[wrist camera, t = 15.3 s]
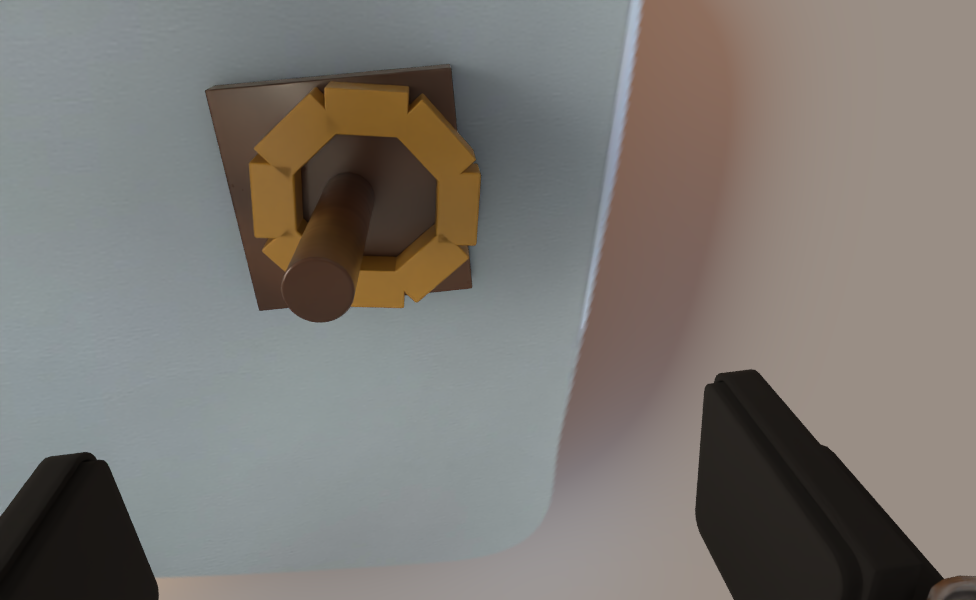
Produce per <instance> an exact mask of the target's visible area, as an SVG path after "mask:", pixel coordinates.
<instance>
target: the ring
mask: <svg viewBox="0 0 976 600" xmlns="http://www.w3.org/2000/svg"><path fill="white" fill-rule="evenodd" d="M336 134H340V135H359V136H378V137H397V138H398V139H399V140H400V141H401V142H402V143H403V144H404V145H405V146H406V147H407V149H408V150H409V151H410V152H411V153H412V154H413V155H414V156H415V157H416V158H417V159H418V160H419V161H420V162H421V163H422V165H423V166H424V167H425V168H426V169H427V170H428V171H429V172H430V173H431V174H432V175H433V176H434V177H435V178H436V179H437V185H436V210H435V224H434V225H432V226H431V227H430V228H429V229H428V230H427V231H426V232H425V233H423V234H422V235H421V236H420V237H419V238H418V239H417V240H415V241H414V242H413V243H412V244H411V245H410V246H409V247H407V248H406V249H405V250H404V251H403V252H402V253H401V254H399V255H398V256H397V257H385V256H363V258H362V263H361V268H360V272H359V277H358V282H357V287H356V291H355V296H354V300H353V303H352V305H351V307H384V308H404V297H405V293H406V294H407V295H408V296H409V297H410V298H411V299H412V300H413V301H415V302H416V303H417V302H419V301H420V300H421V299H422V298H423V297H424V296H426V295H427V294H428V293H429V292H430V291H432V290H433V289H434V288H435V287H436V286H437V285H439V284H440V283H441V282H442V281H443V280H444V279H446V278H447V277H448V276H449V275H450V274H452V273H453V272H454V271H455V270H456V269H457V268H459V267H460V266H461V265H462V264H463V263H464V262H466V261H467V260H468V259H469V252H468V246H475V245H476V243H477V228H478V213H479V199H480V184H481V173H480V170H479V167H478V164H476V163H473V162H474V161H476V158H475V154H474V151H473V149H472V148H471V147H470V145H469V144H468V143H467V142H466V141H465V140H464V139H463V138H462V136H461V135H460V134H459V133H458V132H457V131H456V130H455V129H454V128H453V126H452V125H451V124H450V123H449V122H448V121H447V120H446V119H445V117H444V116H443V115H442V114H441V113H440V112H439V111H438V110H437V108H436V107H435V106H434V105H433V104H432V103H431V102H430V101H429V99H428V98H427V97H426V96H425V95H424V94H423V93H422V94H421V95H420V96H418V97H417V98H416V99H415V100H414V101H413V102H412V103H411V104H410V105H409V86H398V85H381V84H365V83H348V82H332V81H331V82H329V83H328V85H327V86H326V87H325V88H324V94H323V93H322V92H321V91H320V90H319V89H318V88H317V87H315V88H314V89H313V90H312V91H311V92H310V93H309V94H308V95H307V96H306V97H305V98H304V99H303V100H301V101H300V102H299V103H298V104H297V105H296V106H295V107H294V108H293V109H292V110H291V111H290V112H289V113H288V114H287V115H286V116H285V117H284V118H283V119H282V120H281V121H280V122H279V123H278V124H277V125H276V126H275V127H274V128H273V129H272V130H271V131H270V132H269V133H268V134H267V135H266V136H265V137H264V138H263V139H262V140H261V141H260V142H259V143H258V144H257V145H256V146H255V147H254V150H255V151H256V152H257V153H258V154H257V155H256V156H255V157H254V158H253V159H252V160H251V161H250V162H249V174H250V187H251V200H252V213H253V226H254V236H255V237H256V238H269V239H268V240H267V242H266V244H265V245H264V247H263V249H262V252H263V253H264V254H265V255H267V256H268V257H269V258H270V259H271V260H272V261H273V262H275V263H276V264H277V265H278V266H279V267H280V268H281V269H282V270H284V271H285V272H286V270H287V267H288V265H289V263H290V261H291V259H292V257H293V254H294V252H295V250H296V248H297V246H298V244H299V241H300V239H301V237H302V235H303V233H304V231H305V228H306V226H307V224H308V222H307V221H306V220H305V219H303V203H302V180H301V168H302V167H303V166H304V165H305V164H306V163H307V162H308V161H309V160H310V159H311V158H312V157H313V156H314V155H315V154H316V153H317V152H318V151H319V150H320V149H321V148H322V147H324V146H325V145H326V144H327V143H328V142H329V141H330V140H331V139H332V138H333V137H334V136H335V135H336ZM467 245H468V246H467Z"/></svg>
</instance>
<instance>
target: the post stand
mask: <svg viewBox="0 0 976 600" xmlns="http://www.w3.org/2000/svg"><path fill="white" fill-rule="evenodd" d="M331 81H332V82H348V83H365V84H381V85H398V86H409V105H410V104H411V103H412V102H413V101H414V100H415V99H416V98H417V97H418V96H420V95H421V94H422V93H423V94H424V95H425V96H426V97H427V98H428V99H429V101H430V102H431V103H432V104H433V105H434V106H435V107H436V108H437V110H438V111H439V112H440V113H441V114H442V115H443V116H444V117H445V119H446V120H447V121H448V122H449V123H450V124H451V125H452V126H453V128H454V129H455V130H456V131H457V123H456V113H455V102H454V92H453V81H452V71H451V66H450V64H444V65H433V66H422V67H411V68H400V69H389V70H379V71H368V72H357V73H346V74H335V75H324V76H313V77H302V78H292V79H281V80H270V81H259V82H248V83H237V84H226V85H215V86H213V87H211V88H209V89H207V90H205V93H206V97H207V101H208V105H209V109H210V113H211V117H212V121H213V125H214V129H215V133H216V138H217V142H218V146H219V150H220V154H221V158H222V162H223V166H224V170H225V174H226V178H227V182H228V186H229V190H230V194H231V198H232V202H233V206H234V210H235V214H236V218H237V222H238V227H239V231H240V235H241V239H242V243H243V247H244V251H245V255H246V259H247V263H248V267H249V271H250V275H251V279H252V283H253V287H254V291H255V295H256V299H257V303H258V307H259V310H260V311H263V310H272V309H282V308H289V309H290V310H291V311H292V312H293V313H294V314H296V315H297V316H299V317H301V318H302V319H305V320H308V321H311V322H329V321H332V320H335V319H337V318H339V317H341V316H342V315H343V314H345V313H346V312H347V311H348V310H349V308H350V307H351V305H352V303H353V300H354V296H355V291H356V287H357V282H358V277H359V272H360V268H361V263H362V258H363V256H385V257H397V256H398V255H399V254H401V253H402V252H403V251H404V250H405V249H406V248H407V247H409V246H410V245H411V244H412V243H413V242H414V241H415V240H417V239H418V238H419V237H420V236H421V235H422V234H423V233H425V232H426V231H427V230H428V229H429V228H430V227H431V226H432V225H434V224H435V210H436V185H437V179H436V178H435V177H434V176H433V175H432V174H431V173H430V172H429V171H428V170H427V169H426V168H425V167H424V166H423V165H422V163H421V162H420V161H419V160H418V159H417V158H416V157H415V156H414V155H413V154H412V153H411V152H410V151H409V150H408V149H407V147H406V146H405V145H404V144H403V143H402V142H401V141H400V140H399V139H398V138H397V137H378V136H359V135H340V134H336V135H335V136H334V137H333V138H332V139H331V140H330V141H329V142H328V143H327V144H326V145H325V146H324V147H322V148H321V149H320V150H319V151H318V152H317V153H316V154H315V155H314V156H313V157H312V158H311V159H310V160H309V161H308V162H307V163H306V164H305V165H304V166H303V167H302V168H301V180H302V203H303V219H305V220H306V221H307V222H308V224H307V226H306V228H305V231H304V233H303V235H302V237H301V239H300V241H299V244H298V246H297V248H296V250H295V252H294V254H293V257H292V259H291V261H290V263H289V265H288V267H287V270H286V272H285V271H284V270H282V269H281V268H280V267H279V266H278V265H277V264H276V263H275V262H273V261H272V260H271V259H270V258H269V257H268V256H267V255H265V254H264V253H263V252H262V249H263V247H264V245H265V244H266V242H267V240H268V239H269V238H256V237H255V236H254V226H253V213H252V200H251V187H250V174H249V162H250V161H251V160H252V159H253V158H254V157H255V156H256V155H257V154H258V153H257V152H256V151H255V150H254V147H255V146H256V145H257V144H258V143H259V142H260V141H261V140H262V139H263V138H264V137H265V136H266V135H267V134H268V133H269V132H270V131H271V130H272V129H273V128H274V127H275V126H276V125H277V124H278V123H279V122H280V121H281V120H282V119H283V118H284V117H285V116H286V115H287V114H288V113H289V112H290V111H291V110H292V109H293V108H294V107H295V106H296V105H297V104H298V103H299V102H300V101H301V100H303V99H304V98H305V97H306V96H307V95H308V94H309V93H310V92H311V91H312V90H313V89H314V88H315V87H317V88H318V89H319V90H320V91H321V92H322V93H323V94H324V88H325V87H326V86H327V85H328V83H329V82H331ZM467 246H468V245H467ZM468 252H469V248H468ZM469 288H472V279H471V269H470V258H469V259H468V260H467V261H466V262H464V263H463V264H462V265H461V266H460V267H459V268H457V269H456V270H455V271H454V272H453V273H452V274H450V275H449V276H448V277H447V278H446V279H444V280H443V281H442V282H441V283H440V284H439V285H437V286H436V287H435V288H434V289H433V290H432V291H430V292H429V293H431V292H441V291H450V290H459V289H469ZM405 295H407V294H406V293H405Z"/></svg>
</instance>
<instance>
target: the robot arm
mask: <svg viewBox="0 0 976 600" xmlns="http://www.w3.org/2000/svg"><path fill="white" fill-rule="evenodd" d="M695 512H696V513H695V514H696V521H697V526H698V529H699V532H700V534H701V536H702V538H703V540H704V542H705V544H706V546H707V548H708V550H709V552H710V554H711V556H712V558H713V560H714V562H715V564H716V566H717V568H718V570H719V571H720V573H721V575H722V577H723V579H724V581H725V583H726V585H727V587H728V589H729V591H730V593H731V595H732V597H733V599H734V600H976V576H955V577H951V578H947V579H944V578H943V577H942V576H941V575H940V574H939V573H938V571H937V570H936V569H935V568H934V567H933V566H932V565H931V563H930V562H929V561H928V560H927V559H926V558H925V556H924V555H923V554H922V553H921V552H920V551H919V550H918V548H917V547H916V546H915V545H914V544H913V543H912V542H911V541H910V539H909V538H908V537H907V536H906V535H905V534H904V532H903V531H902V530H901V529H900V528H899V527H898V525H897V524H896V523H895V522H894V521H893V520H892V519H891V518H890V516H889V515H888V514H887V513H886V512H885V511H884V509H883V508H882V507H881V506H880V505H879V504H878V503H877V502H876V500H875V499H874V498H873V497H872V496H871V495H870V493H869V492H868V491H867V490H866V489H865V488H864V487H863V485H862V484H861V483H860V482H859V481H858V480H857V479H856V477H855V476H854V475H853V474H852V473H851V472H850V471H849V469H848V468H847V467H846V466H845V465H844V464H843V462H842V461H841V460H840V459H839V458H838V457H837V456H836V454H835V453H834V452H832V451H831V450H830V449H829V448H828V447H826V446H823V445H821V444H820V443H819V442H818V441H817V440H816V439H815V438H814V436H813V435H812V434H811V433H810V432H809V431H808V429H807V428H806V427H805V426H804V425H803V424H802V423H801V421H800V420H799V419H798V418H797V417H796V416H795V414H794V413H793V412H792V411H791V410H790V408H789V407H788V406H787V405H786V404H785V403H784V401H783V400H782V399H781V398H780V397H779V396H778V395H777V393H776V392H775V391H774V390H773V389H772V388H771V386H770V385H769V384H768V383H767V382H766V381H765V380H764V378H763V377H762V376H761V375H760V374H759V373H758V372H757V371H756V370H743V371H735V372H727V373H720V374H718V375H717V376H716V378H715V381H714V383H712V384H707V385H706V387H705V391H704V402H703V416H702V428H701V441H700V456H699V468H698V482H697V495H696V508H695ZM158 598H159V593H158V585H157V582H156V580H155V577H154V575H153V572H152V570H151V567H150V565H149V563H148V560H147V558H146V555H145V553H144V550H143V548H142V545H141V543H140V541H139V538H138V536H137V533H136V531H135V528H134V526H133V524H132V521H131V519H130V516H129V514H128V511H127V509H126V507H125V504H124V502H123V499H122V497H121V494H120V492H119V489H118V487H117V485H116V482H115V480H114V477H113V475H112V472H111V470H110V468H109V466H108V464H107V463H106V462H105V461H104V460H97V459H96V457H95V456H94V455H93V454H91V453H88V452H83V453H75V454H67V455H59V456H51V457H48V458H45V459H44V460H43V461H42V462H41V463H40V464H39V465H38V467H37V468H36V469H35V471H34V472H33V473H32V475H31V476H30V478H29V479H28V480H27V482H26V483H25V484H24V486H23V487H22V488H21V490H20V491H19V492H18V494H17V495H16V496H15V498H14V499H13V500H12V502H11V503H10V504H9V506H8V507H7V508H6V510H5V511H4V513H3V514H2V515H1V517H0V600H158Z"/></svg>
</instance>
